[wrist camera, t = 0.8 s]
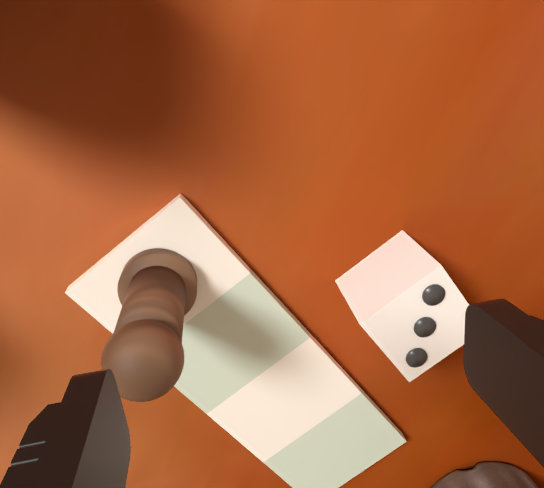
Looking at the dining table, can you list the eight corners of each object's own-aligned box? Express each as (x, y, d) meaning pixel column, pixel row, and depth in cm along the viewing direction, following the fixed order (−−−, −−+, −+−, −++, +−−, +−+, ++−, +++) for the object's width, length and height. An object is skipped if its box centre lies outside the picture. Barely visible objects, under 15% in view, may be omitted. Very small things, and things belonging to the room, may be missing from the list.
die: (402, 229, 33) (442, 265, 28) (442, 286, 36) (487, 330, 30) (334, 280, 34) (360, 325, 29) (378, 332, 37) (410, 383, 31)
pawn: (161, 233, 30) (139, 319, 20) (212, 285, 32) (215, 386, 22) (104, 280, 31) (57, 384, 21) (157, 328, 33) (137, 444, 23)
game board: (180, 193, 30) (179, 197, 30) (402, 432, 41) (406, 441, 40) (68, 285, 32) (64, 292, 31) (310, 495, 42) (312, 504, 41)
